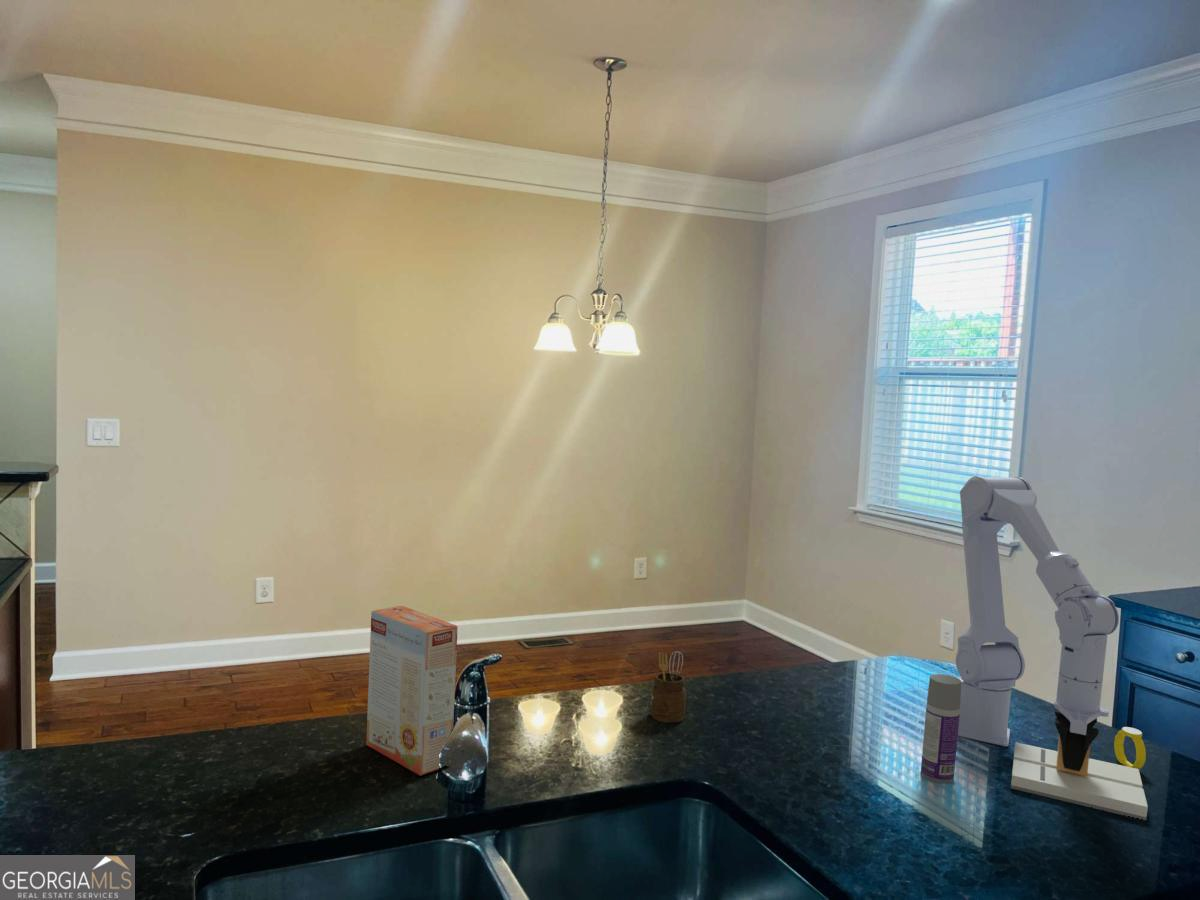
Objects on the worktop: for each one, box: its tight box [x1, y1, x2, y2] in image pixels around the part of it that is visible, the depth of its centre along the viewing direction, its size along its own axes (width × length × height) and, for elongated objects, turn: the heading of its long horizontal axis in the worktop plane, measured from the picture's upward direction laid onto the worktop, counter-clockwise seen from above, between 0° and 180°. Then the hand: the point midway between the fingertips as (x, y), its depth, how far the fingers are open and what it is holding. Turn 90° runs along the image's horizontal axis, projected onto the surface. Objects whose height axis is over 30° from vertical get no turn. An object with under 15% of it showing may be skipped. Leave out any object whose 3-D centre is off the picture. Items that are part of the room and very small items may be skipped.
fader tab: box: [1056, 734, 1091, 776], centre depth 129 cm, size 4×3×7 cm
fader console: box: [1010, 741, 1149, 821], centre depth 129 cm, size 17×14×2 cm
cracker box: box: [365, 605, 459, 776], centre depth 126 cm, size 14×6×21 cm, turn 47°
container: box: [920, 673, 962, 784], centre depth 129 cm, size 5×5×15 cm
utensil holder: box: [650, 650, 687, 724], centre depth 146 cm, size 6×6×12 cm
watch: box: [1113, 726, 1147, 770], centre depth 137 cm, size 6×3×6 cm, turn 1°
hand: (1071, 764), depth 129 cm, fingers closed on fader tab, 3 cm apart
